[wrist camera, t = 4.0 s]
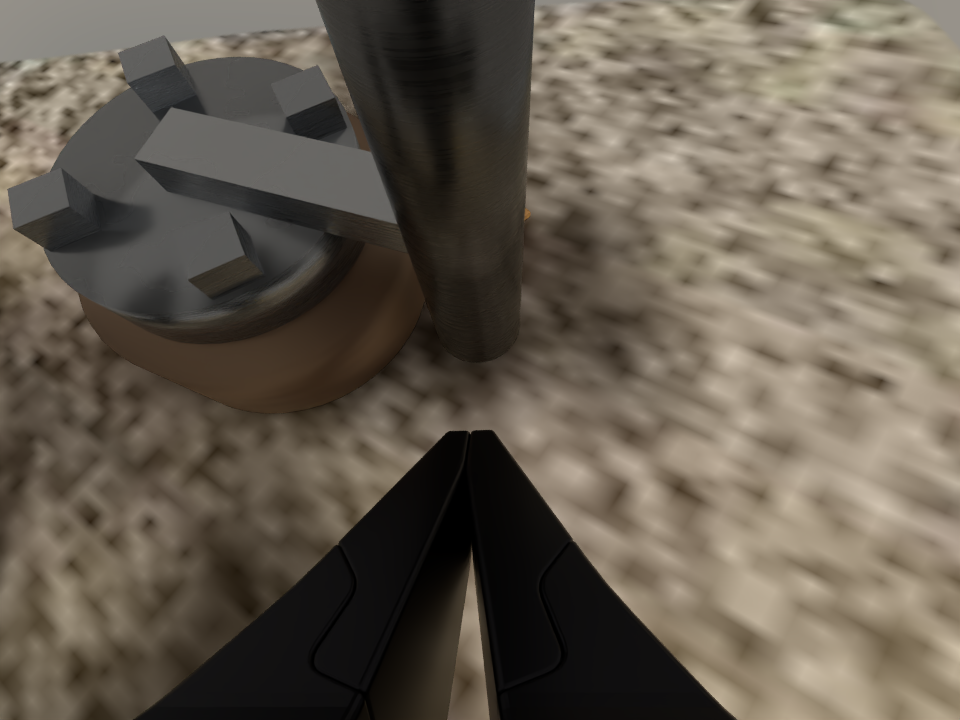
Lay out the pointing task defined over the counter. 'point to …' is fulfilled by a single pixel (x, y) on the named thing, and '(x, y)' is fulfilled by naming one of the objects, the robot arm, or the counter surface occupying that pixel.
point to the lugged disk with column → (304, 178)
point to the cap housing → (291, 340)
